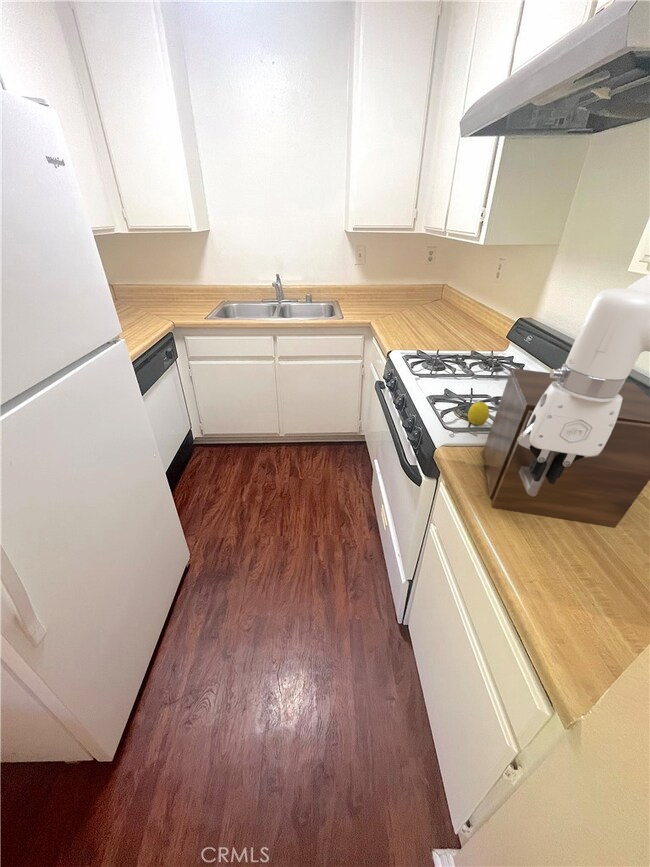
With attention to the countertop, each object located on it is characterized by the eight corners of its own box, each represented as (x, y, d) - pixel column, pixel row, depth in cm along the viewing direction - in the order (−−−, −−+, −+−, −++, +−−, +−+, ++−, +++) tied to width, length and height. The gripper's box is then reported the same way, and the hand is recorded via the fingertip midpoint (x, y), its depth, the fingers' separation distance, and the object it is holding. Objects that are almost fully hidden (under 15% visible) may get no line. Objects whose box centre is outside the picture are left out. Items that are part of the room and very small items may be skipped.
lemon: (488, 430, 101) (496, 406, 97) (470, 431, 100) (478, 407, 96) (478, 420, 106) (485, 396, 101) (461, 421, 105) (468, 398, 100)
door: (632, 555, 65) (714, 454, 52) (497, 531, 69) (542, 433, 56) (613, 524, 71) (681, 427, 58) (490, 504, 75) (528, 410, 62)
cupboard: (612, 523, 72) (681, 426, 58) (489, 499, 77) (527, 404, 64) (584, 470, 86) (634, 383, 73) (482, 453, 91) (511, 368, 78)
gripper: (537, 384, 48) (497, 483, 59) (666, 400, 46) (600, 501, 56) (524, 365, 55) (490, 457, 65) (637, 377, 52) (583, 472, 62)
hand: (541, 477), depth 60 cm, fingers closed on door
